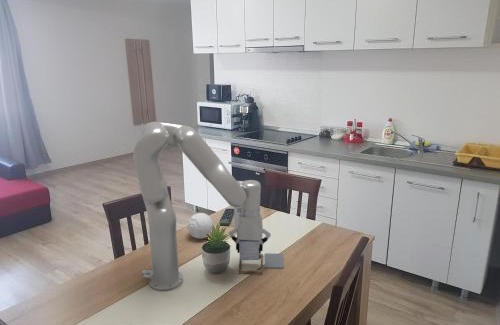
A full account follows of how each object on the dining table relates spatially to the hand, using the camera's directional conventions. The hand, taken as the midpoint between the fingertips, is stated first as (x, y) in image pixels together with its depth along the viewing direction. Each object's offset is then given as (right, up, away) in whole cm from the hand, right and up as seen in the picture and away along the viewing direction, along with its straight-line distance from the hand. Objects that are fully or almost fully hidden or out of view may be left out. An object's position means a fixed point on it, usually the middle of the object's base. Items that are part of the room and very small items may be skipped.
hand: (249, 251), depth 150 cm
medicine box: (0, -3, +1) cm, 3 cm away
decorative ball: (-23, 0, +26) cm, 35 cm away
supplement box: (-3, +3, +37) cm, 38 cm away
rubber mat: (+10, -5, +5) cm, 13 cm away
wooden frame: (+1, -6, +2) cm, 6 cm away
